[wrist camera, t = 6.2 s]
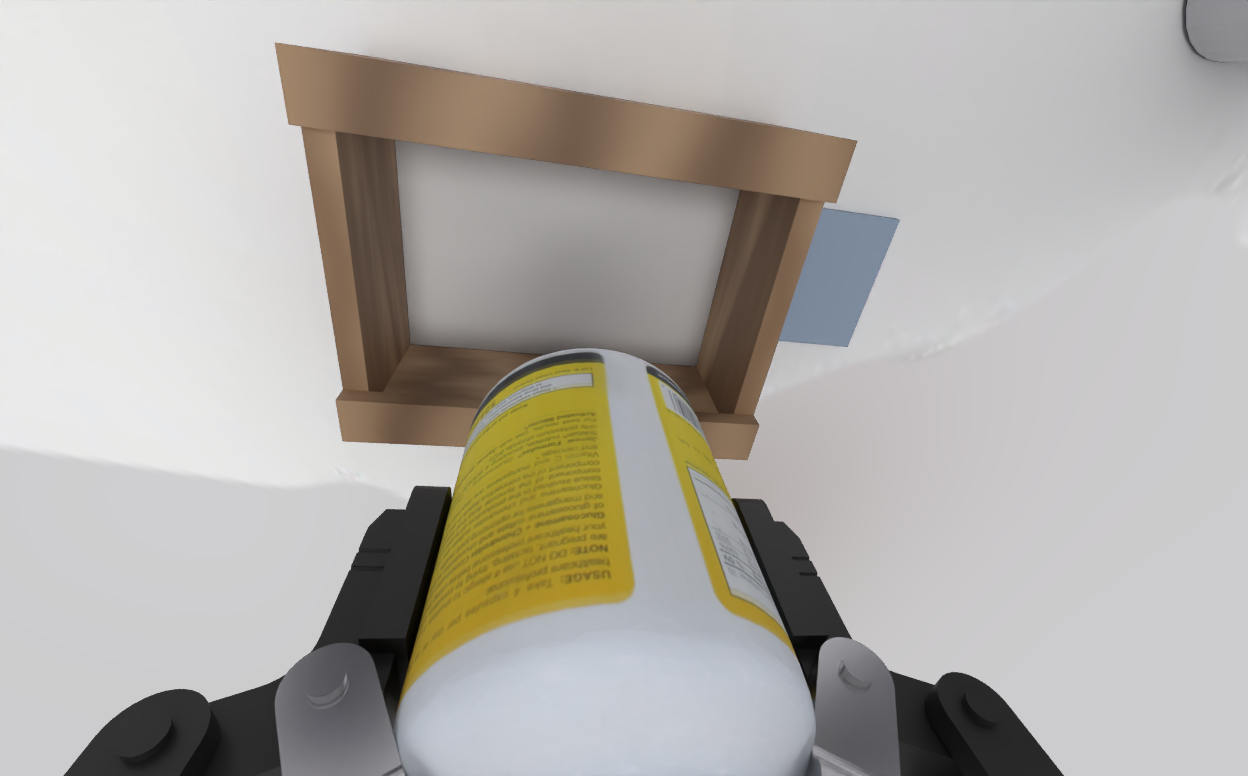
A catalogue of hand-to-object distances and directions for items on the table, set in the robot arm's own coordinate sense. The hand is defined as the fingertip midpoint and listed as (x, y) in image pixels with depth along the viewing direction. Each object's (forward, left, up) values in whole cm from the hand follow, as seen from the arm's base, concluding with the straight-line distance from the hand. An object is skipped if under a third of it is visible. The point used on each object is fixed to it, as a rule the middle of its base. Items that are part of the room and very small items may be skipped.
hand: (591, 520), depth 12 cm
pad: (-16, 0, -22) cm, 27 cm away
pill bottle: (0, 0, -3) cm, 3 cm away
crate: (0, 0, -22) cm, 22 cm away
